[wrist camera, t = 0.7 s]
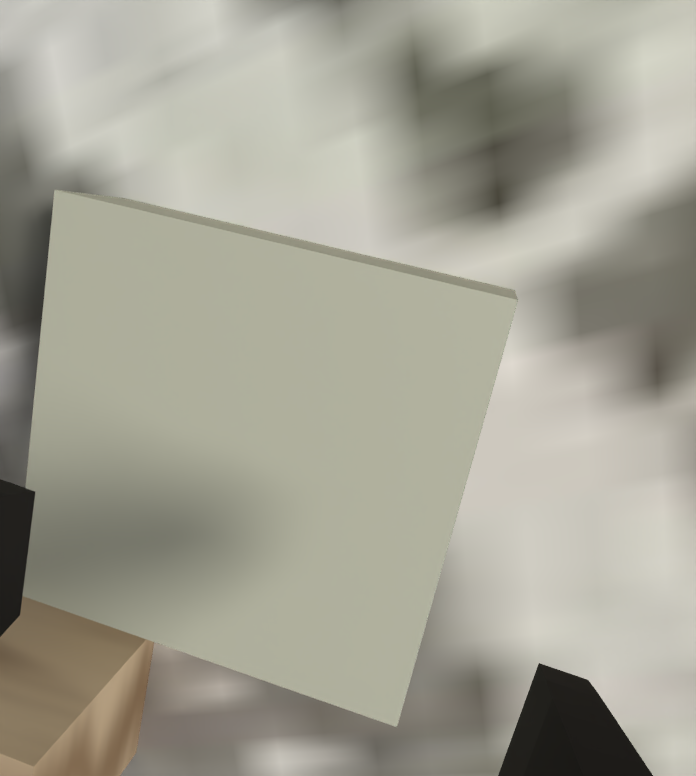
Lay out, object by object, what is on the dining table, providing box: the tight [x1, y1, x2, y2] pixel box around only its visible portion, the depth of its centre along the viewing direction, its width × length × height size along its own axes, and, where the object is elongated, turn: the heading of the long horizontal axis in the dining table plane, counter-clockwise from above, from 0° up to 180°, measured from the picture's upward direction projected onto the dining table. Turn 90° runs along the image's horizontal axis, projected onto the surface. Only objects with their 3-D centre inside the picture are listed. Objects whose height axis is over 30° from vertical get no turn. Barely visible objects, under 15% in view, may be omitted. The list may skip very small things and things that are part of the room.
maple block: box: [0, 596, 154, 776], centre depth 20 cm, size 5×5×6 cm
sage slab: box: [23, 190, 518, 727], centre depth 18 cm, size 11×11×3 cm
